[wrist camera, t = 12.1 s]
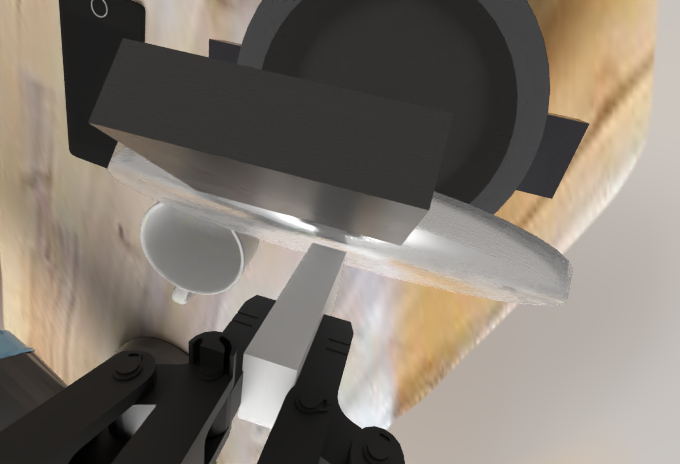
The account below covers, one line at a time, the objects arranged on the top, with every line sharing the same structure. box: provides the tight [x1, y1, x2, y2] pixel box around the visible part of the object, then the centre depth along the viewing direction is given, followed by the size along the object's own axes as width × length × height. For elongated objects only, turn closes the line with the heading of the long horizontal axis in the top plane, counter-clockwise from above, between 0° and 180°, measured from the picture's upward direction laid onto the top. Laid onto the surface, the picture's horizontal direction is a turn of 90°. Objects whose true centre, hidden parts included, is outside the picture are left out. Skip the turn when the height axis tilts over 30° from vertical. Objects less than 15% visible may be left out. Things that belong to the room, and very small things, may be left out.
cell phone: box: [59, 0, 146, 168], centre depth 39 cm, size 9×18×1 cm, turn 163°
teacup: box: [140, 202, 259, 304], centre depth 40 cm, size 14×11×8 cm
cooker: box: [209, 0, 589, 215], centre depth 29 cm, size 25×22×11 cm
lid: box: [88, 38, 573, 305], centre depth 17 cm, size 20×23×2 cm
